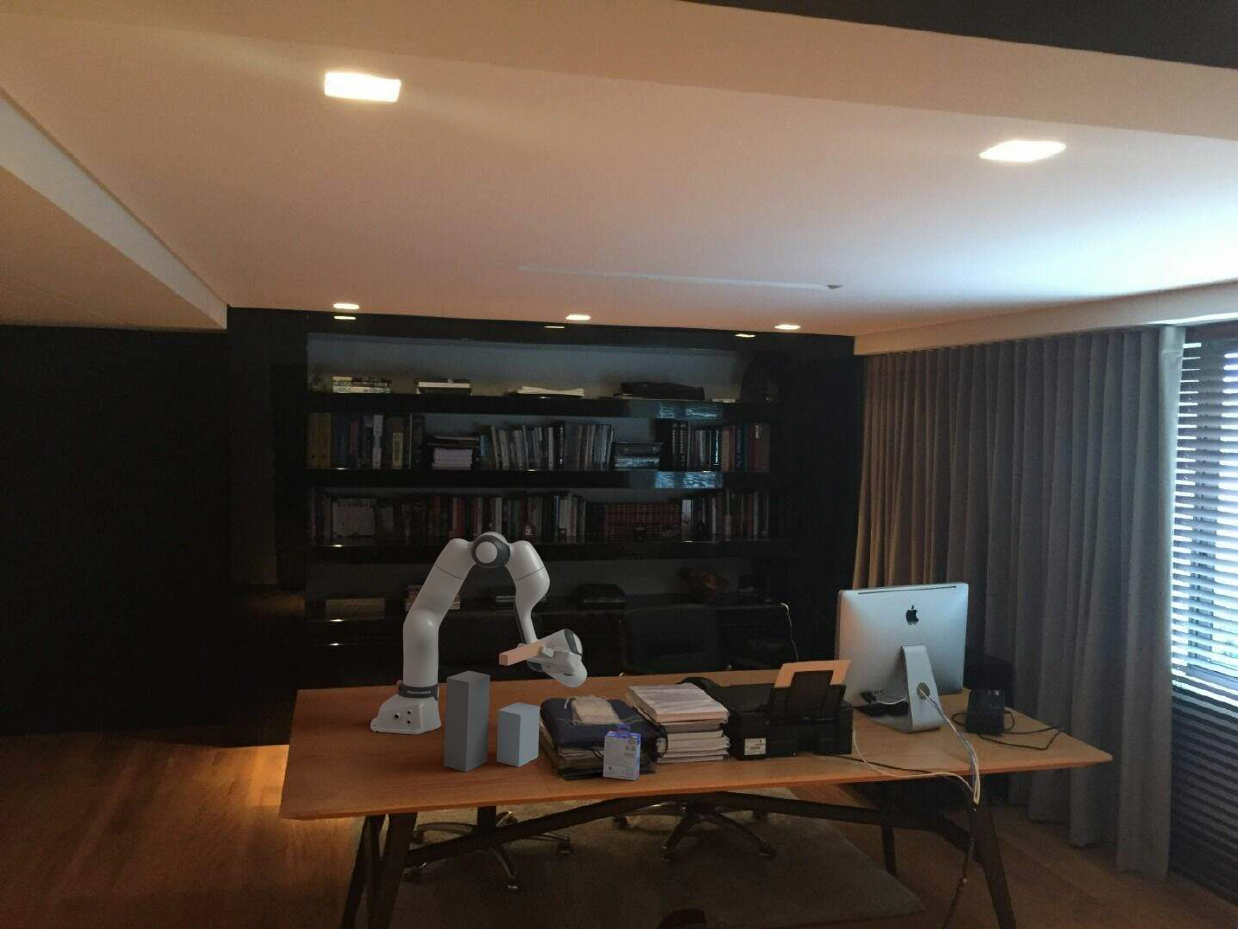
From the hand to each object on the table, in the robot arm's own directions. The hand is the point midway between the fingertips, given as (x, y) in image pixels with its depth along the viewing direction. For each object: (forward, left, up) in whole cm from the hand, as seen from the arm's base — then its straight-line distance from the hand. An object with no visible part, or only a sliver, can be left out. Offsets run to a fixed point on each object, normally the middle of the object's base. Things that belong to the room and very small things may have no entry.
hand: (535, 647), depth 300 cm
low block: (-4, -6, -32) cm, 33 cm away
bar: (-4, -5, -2) cm, 7 cm away
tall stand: (-19, -10, -32) cm, 39 cm away
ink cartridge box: (+26, -19, -33) cm, 46 cm away
